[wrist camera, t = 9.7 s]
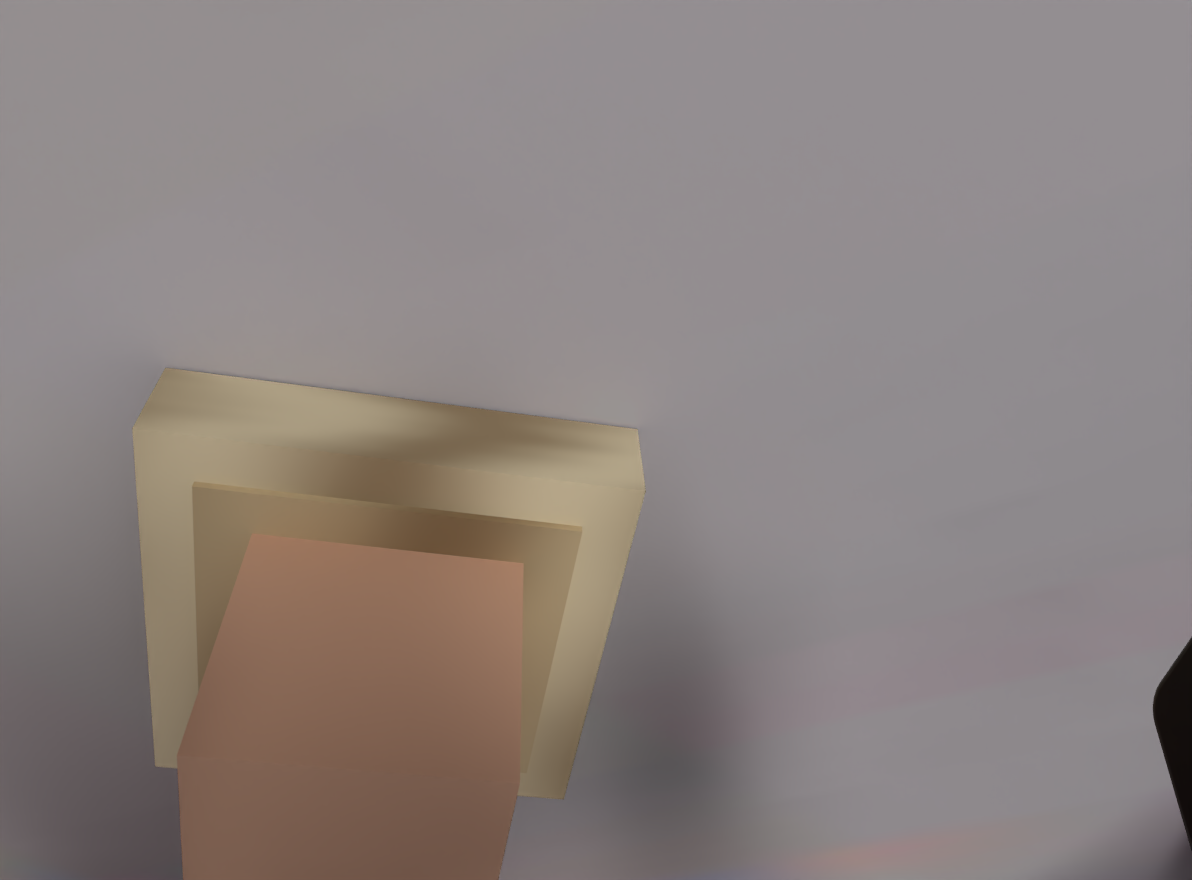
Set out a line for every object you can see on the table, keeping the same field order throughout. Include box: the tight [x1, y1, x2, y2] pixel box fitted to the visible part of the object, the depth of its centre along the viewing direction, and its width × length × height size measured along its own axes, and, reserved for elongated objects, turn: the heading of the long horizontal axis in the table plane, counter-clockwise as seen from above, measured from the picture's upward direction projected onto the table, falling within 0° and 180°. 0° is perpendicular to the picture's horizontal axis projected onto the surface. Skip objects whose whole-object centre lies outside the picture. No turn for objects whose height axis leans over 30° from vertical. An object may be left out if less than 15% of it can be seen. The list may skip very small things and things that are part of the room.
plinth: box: [132, 368, 646, 799], centre depth 22 cm, size 9×9×2 cm
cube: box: [177, 533, 524, 880], centre depth 19 cm, size 5×5×5 cm
